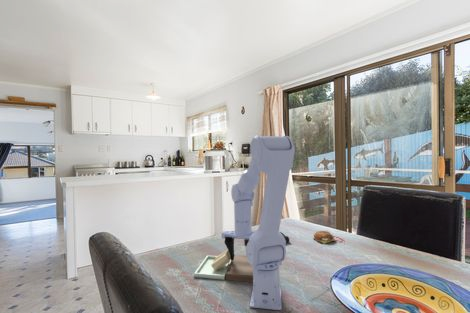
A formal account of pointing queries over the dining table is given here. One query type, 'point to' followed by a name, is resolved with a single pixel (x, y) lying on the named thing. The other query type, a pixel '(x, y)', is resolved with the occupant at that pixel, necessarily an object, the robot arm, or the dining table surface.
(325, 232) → the hamburger
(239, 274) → the walnut board
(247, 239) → the black toy gun
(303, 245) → the dining table surface
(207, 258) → the green tray
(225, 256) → the oak tile
